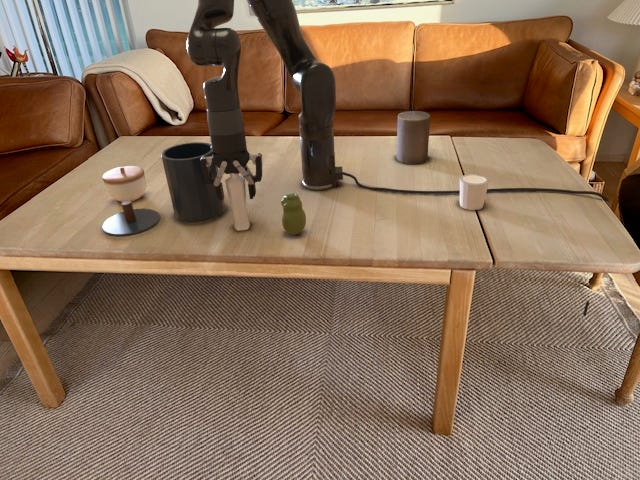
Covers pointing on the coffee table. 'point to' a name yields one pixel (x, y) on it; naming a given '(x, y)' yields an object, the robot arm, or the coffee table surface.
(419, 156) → the pillar candle
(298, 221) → the green figurine
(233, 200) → the perfume bottle
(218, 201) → the canister
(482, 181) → the white cylinder
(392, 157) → the coffee table surface
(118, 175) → the trinket box
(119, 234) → the lid
